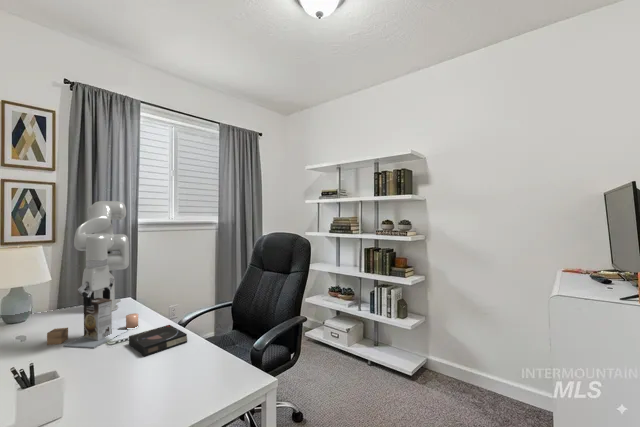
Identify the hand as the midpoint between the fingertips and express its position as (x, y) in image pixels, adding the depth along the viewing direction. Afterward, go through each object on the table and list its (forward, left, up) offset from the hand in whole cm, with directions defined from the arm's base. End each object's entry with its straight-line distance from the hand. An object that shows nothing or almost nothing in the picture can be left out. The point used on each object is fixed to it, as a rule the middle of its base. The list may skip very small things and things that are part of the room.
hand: (97, 302), depth 132 cm
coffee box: (0, 0, -15) cm, 15 cm away
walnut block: (+5, -14, -16) cm, 22 cm away
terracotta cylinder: (-13, +6, -16) cm, 21 cm away
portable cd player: (+2, +30, -16) cm, 34 cm away
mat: (0, 0, -16) cm, 16 cm away
